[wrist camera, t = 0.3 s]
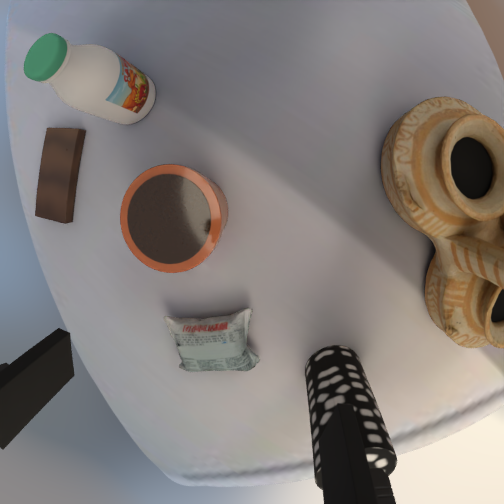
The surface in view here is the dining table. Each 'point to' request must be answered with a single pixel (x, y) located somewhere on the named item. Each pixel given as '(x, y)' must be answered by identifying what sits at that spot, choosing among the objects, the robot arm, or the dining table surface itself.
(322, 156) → the dining table surface
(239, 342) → the packaged food
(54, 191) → the walnut board
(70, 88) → the milk bottle
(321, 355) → the white-spotted black cylinder
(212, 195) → the flower pot
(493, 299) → the ceramic vessel
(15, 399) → the robot arm
